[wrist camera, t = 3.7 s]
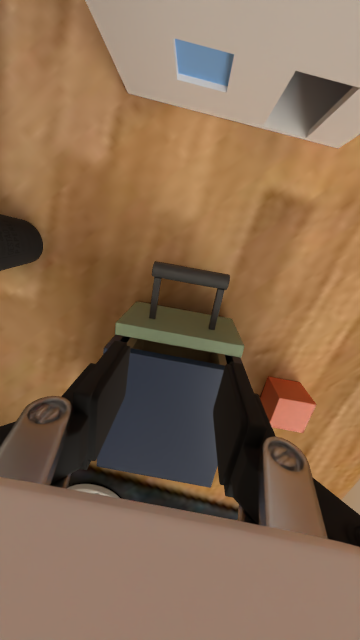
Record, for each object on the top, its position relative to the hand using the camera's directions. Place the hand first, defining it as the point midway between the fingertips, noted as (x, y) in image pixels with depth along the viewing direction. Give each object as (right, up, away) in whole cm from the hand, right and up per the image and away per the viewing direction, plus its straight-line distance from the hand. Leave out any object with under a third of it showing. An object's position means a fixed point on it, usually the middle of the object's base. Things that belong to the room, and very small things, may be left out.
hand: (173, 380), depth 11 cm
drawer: (0, 0, +17) cm, 17 cm away
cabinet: (-1, -4, +20) cm, 21 cm away
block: (+14, -7, +20) cm, 25 cm away
